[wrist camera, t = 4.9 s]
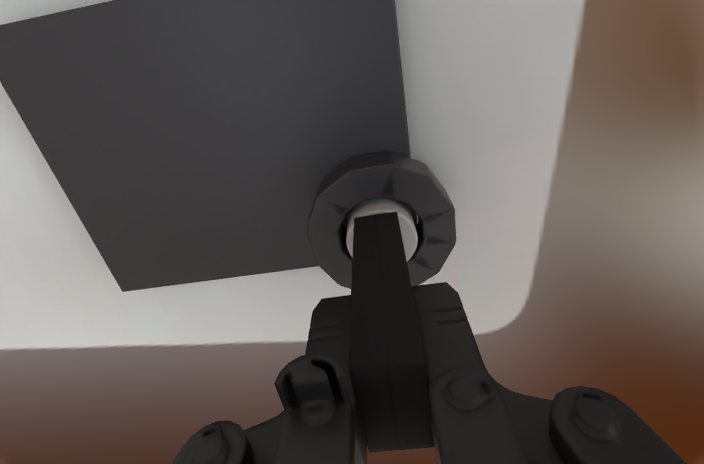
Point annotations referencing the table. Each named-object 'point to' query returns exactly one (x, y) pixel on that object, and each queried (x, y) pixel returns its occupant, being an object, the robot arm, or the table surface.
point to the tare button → (382, 207)
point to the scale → (224, 132)
